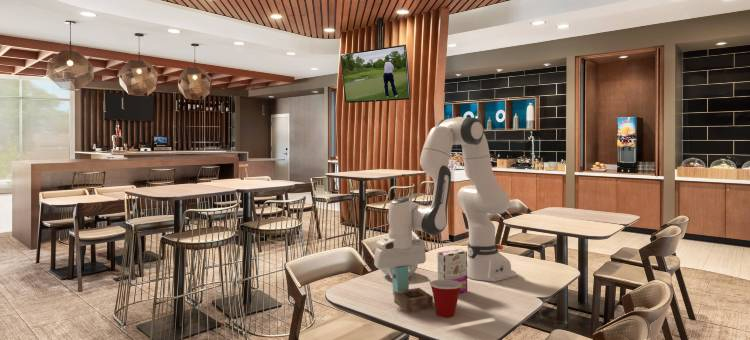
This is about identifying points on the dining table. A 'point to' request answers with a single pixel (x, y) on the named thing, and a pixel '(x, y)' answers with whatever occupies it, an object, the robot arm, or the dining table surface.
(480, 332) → the dining table surface
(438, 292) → the plastic cup
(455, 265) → the candy bar box
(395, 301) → the pocket block
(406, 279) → the teal peg
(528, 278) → the dining table surface
